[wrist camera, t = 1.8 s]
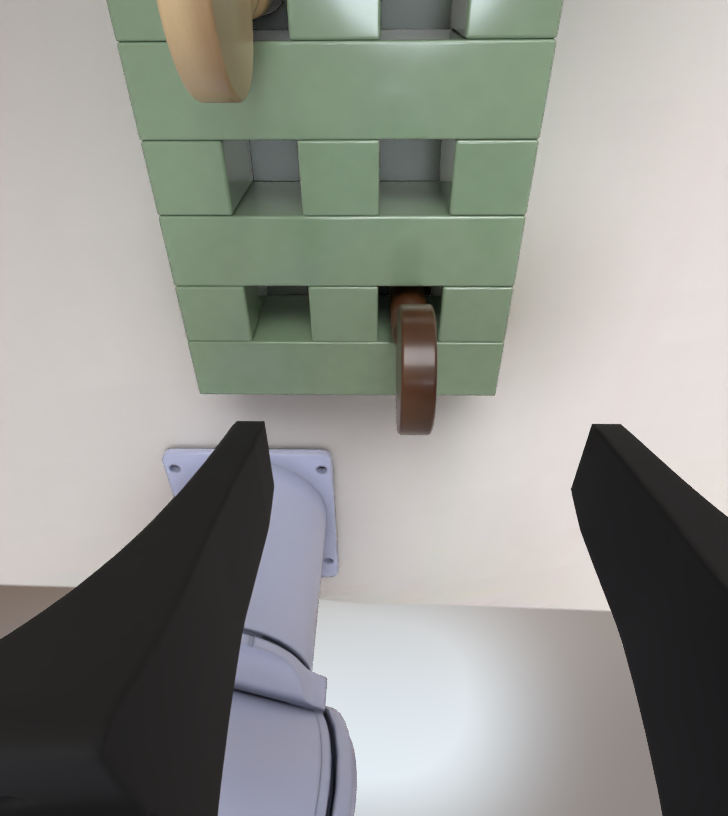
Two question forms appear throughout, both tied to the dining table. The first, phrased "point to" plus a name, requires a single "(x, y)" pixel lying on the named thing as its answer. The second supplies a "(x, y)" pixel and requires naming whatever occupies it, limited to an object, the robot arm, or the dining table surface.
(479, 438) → the dining table surface
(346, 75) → the utensil stand
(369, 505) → the dining table surface
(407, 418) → the walnut spoon
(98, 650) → the robot arm
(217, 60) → the beech spoon
